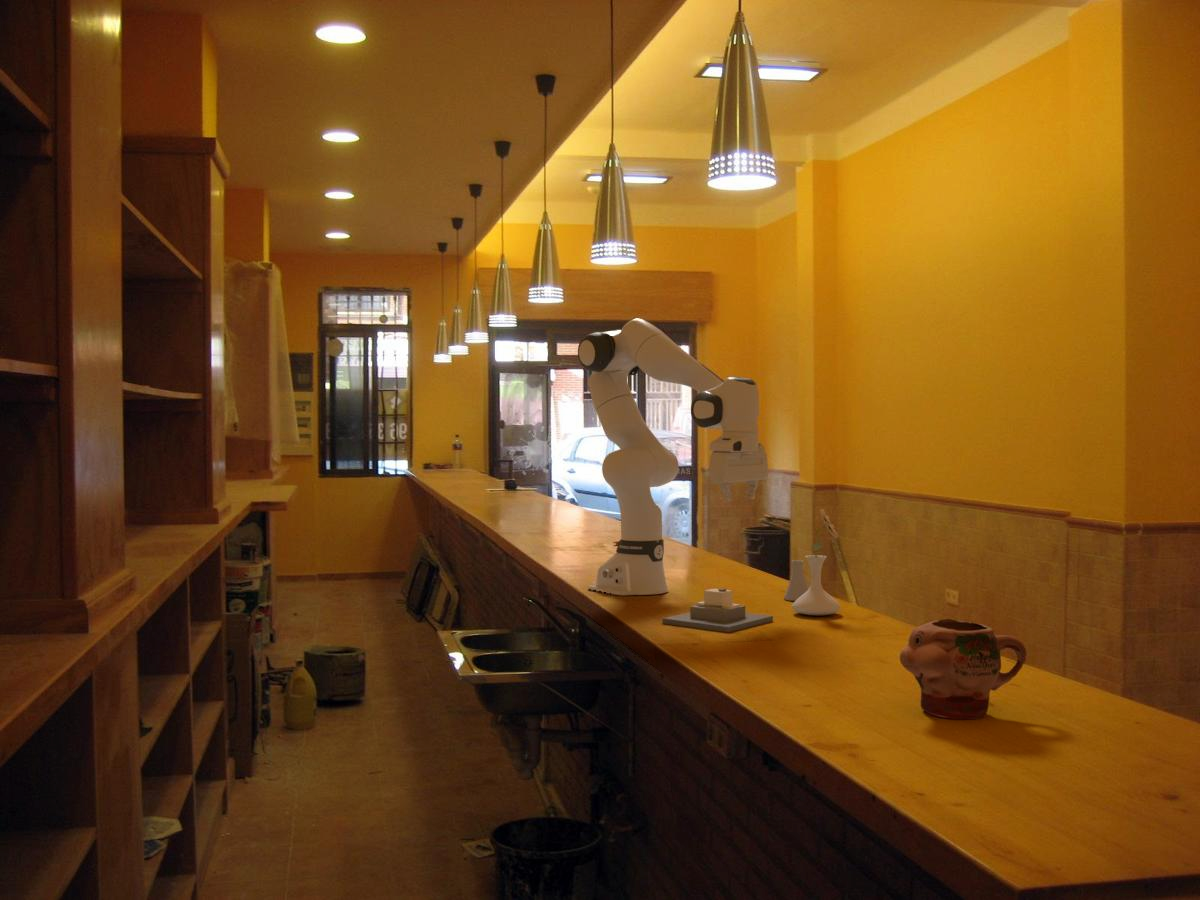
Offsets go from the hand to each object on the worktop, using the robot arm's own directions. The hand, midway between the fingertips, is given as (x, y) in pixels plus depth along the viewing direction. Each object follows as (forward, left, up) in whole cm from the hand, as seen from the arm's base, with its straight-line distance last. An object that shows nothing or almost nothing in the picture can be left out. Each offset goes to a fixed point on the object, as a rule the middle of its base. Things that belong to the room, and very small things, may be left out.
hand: (739, 500), depth 279 cm
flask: (+4, +21, -27) cm, 34 cm away
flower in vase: (+19, +5, -27) cm, 33 cm away
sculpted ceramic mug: (+83, -61, -27) cm, 107 cm away
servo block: (+7, -19, -25) cm, 33 cm away
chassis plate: (+7, -19, -27) cm, 34 cm away
